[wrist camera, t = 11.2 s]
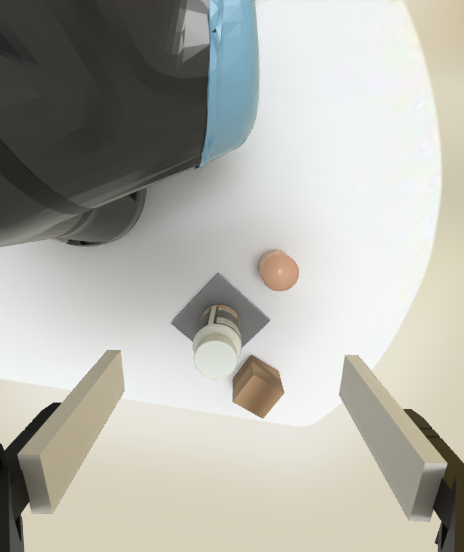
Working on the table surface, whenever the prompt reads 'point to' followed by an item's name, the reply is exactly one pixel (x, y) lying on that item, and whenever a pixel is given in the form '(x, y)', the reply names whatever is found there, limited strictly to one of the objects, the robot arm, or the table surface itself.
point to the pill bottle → (217, 342)
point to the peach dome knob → (278, 270)
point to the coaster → (221, 294)
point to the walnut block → (257, 387)
